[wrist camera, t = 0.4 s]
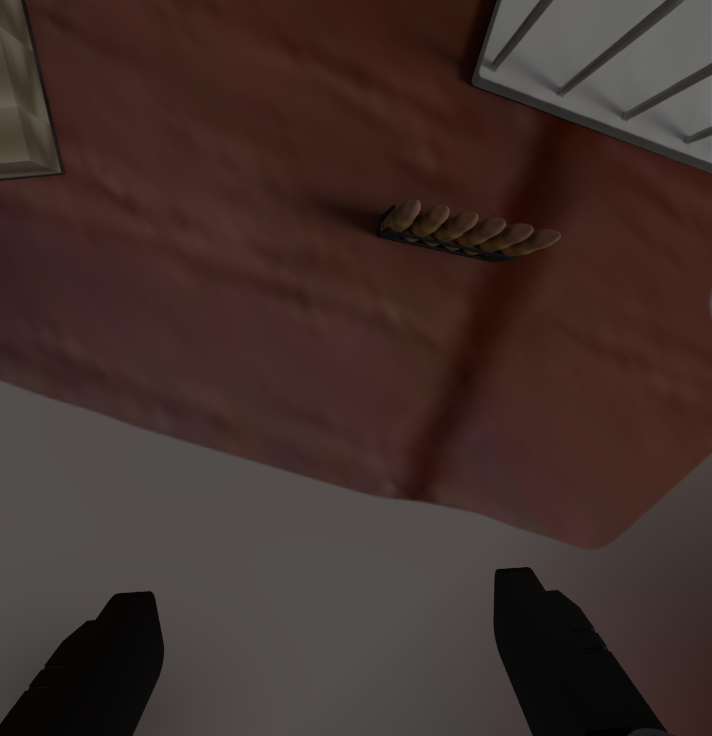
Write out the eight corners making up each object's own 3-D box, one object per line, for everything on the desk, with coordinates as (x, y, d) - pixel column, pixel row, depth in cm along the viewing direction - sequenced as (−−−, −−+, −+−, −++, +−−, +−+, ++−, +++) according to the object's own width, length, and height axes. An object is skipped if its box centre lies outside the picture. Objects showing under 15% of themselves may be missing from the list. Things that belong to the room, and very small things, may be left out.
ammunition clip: (500, 241, 37) (578, 223, 25) (495, 262, 37) (569, 254, 25) (381, 214, 36) (404, 182, 24) (376, 237, 36) (397, 216, 24)
